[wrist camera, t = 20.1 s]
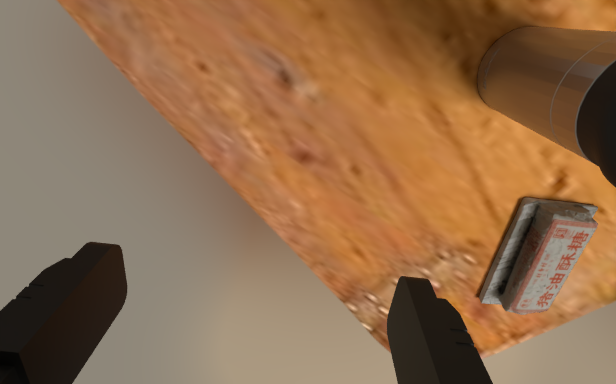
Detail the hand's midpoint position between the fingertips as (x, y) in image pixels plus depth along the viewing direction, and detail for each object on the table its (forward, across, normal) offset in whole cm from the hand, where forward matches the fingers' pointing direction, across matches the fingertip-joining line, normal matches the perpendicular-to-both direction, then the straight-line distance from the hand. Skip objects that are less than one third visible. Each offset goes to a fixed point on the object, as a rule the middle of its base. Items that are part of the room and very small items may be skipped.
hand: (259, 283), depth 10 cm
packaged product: (+35, -35, +20) cm, 54 cm away
